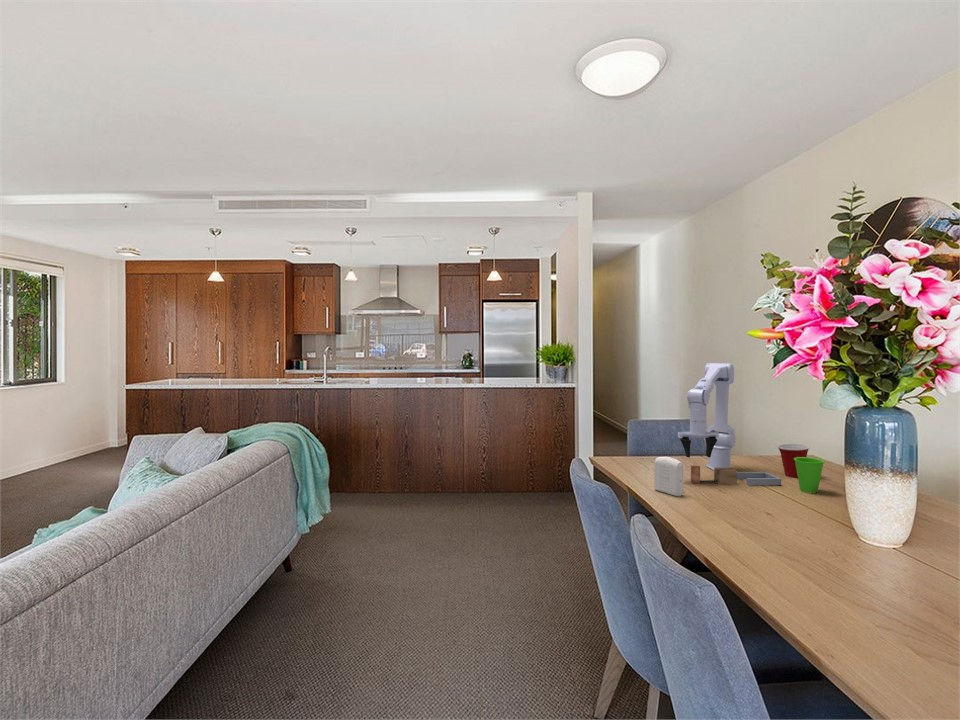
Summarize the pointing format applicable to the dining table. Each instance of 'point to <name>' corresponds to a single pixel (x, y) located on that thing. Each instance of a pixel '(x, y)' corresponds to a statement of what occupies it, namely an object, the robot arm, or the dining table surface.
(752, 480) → the grey u-shaped bracket
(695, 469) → the tethered block
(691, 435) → the robot arm
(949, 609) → the dining table surface
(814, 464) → the cup
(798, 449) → the plastic cup
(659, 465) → the photo printer
